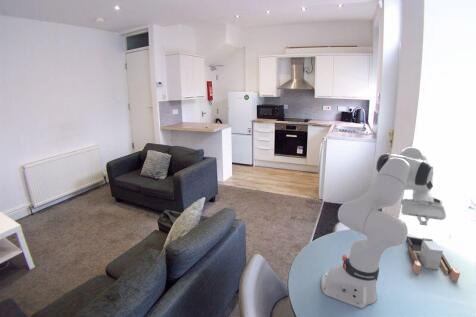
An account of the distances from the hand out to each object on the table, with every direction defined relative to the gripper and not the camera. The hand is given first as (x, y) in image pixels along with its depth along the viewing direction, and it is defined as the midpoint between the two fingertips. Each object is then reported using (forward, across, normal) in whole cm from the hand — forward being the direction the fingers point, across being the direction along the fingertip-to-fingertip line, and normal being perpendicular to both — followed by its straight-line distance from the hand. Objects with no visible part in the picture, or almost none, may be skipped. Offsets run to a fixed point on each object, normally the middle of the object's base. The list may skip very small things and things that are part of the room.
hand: (423, 224), depth 147 cm
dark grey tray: (+11, 0, +7) cm, 13 cm away
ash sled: (+20, 0, -3) cm, 21 cm away
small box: (+21, 0, -3) cm, 21 cm away
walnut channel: (+20, 0, -2) cm, 20 cm away
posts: (+27, 0, -9) cm, 28 cm away
